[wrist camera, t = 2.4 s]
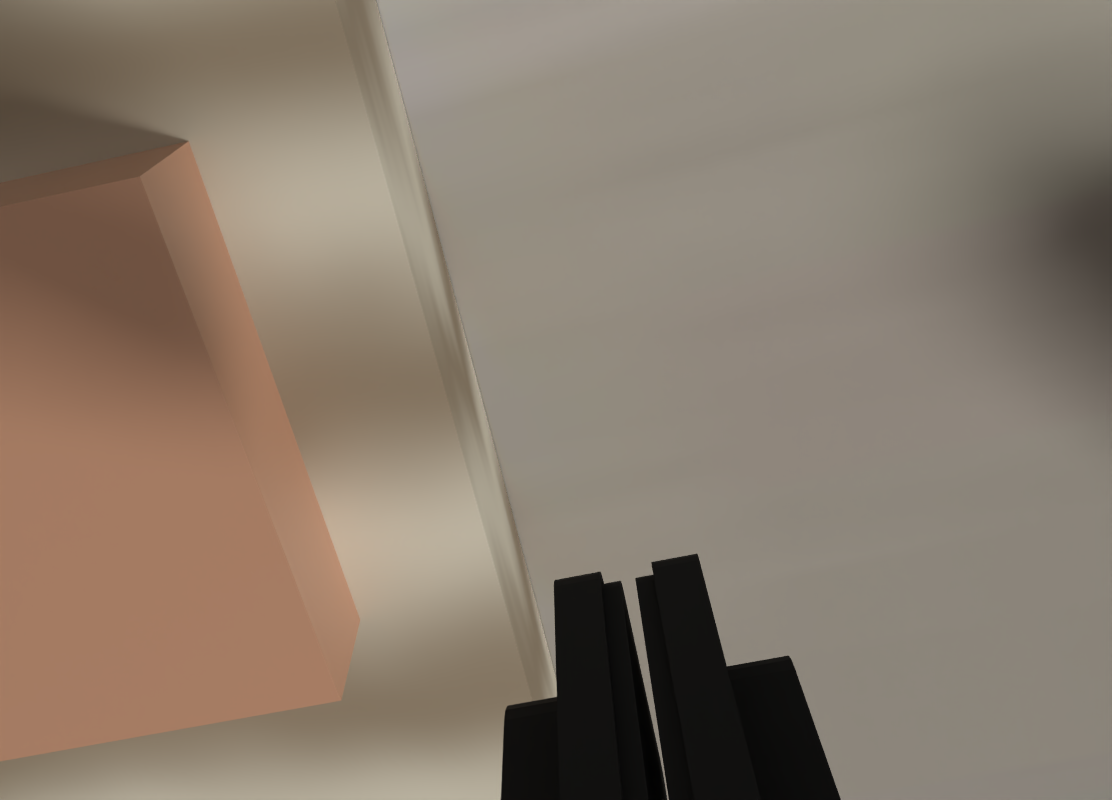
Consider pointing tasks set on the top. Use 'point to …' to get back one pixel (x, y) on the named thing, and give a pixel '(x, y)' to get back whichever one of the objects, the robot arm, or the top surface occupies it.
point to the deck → (311, 383)
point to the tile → (147, 474)
